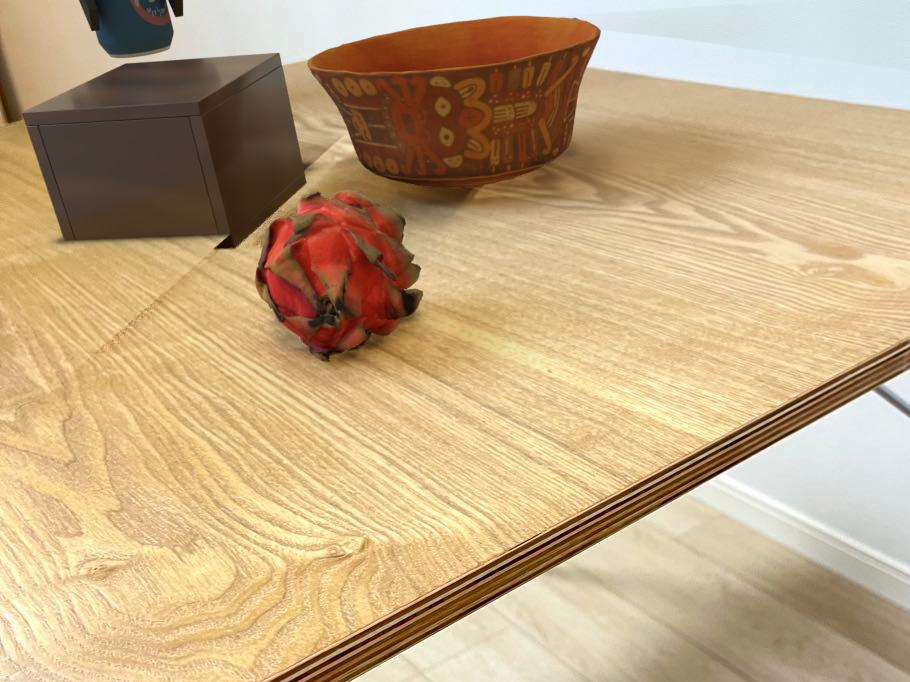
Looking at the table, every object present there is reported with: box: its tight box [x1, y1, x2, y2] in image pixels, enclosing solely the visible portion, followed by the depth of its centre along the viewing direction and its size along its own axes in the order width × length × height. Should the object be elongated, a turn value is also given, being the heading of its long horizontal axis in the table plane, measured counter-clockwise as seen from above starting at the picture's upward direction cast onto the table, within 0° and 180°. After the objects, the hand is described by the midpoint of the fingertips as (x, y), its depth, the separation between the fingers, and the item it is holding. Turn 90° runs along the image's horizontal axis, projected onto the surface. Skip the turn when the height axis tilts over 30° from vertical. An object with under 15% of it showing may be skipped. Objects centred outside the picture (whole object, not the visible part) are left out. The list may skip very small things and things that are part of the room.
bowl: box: [306, 15, 602, 189], centre depth 85 cm, size 21×21×10 cm
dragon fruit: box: [254, 189, 424, 363], centre depth 62 cm, size 8×8×12 cm
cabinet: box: [21, 52, 308, 250], centre depth 84 cm, size 15×13×10 cm
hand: (137, 13), depth 103 cm, fingers closed on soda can, 7 cm apart
